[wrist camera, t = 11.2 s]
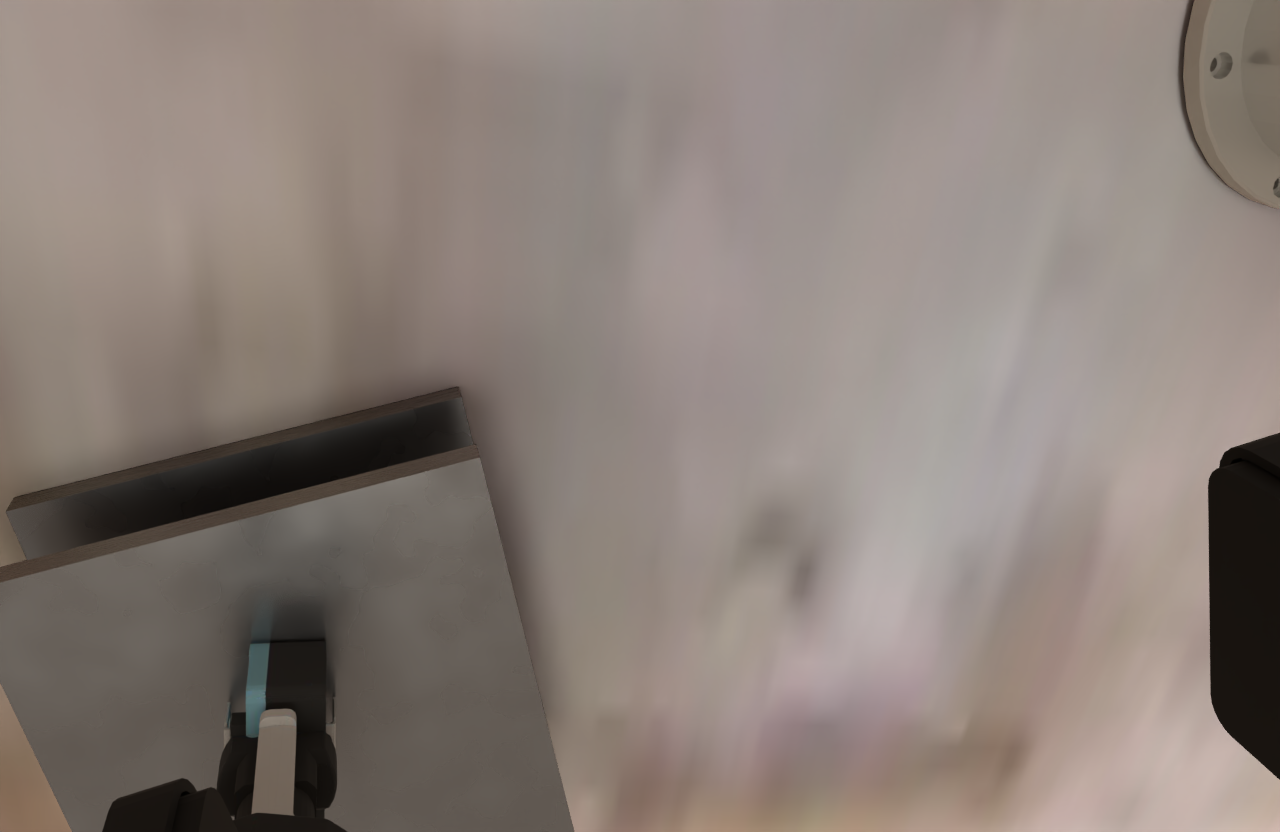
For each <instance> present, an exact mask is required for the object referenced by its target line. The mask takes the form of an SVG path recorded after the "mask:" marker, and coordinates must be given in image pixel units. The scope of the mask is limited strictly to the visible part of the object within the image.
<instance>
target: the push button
mask: <svg viewBox="0 0 1280 832" xmlns="http://www.w3.org/2000/svg"><path fill="white" fill-rule="evenodd" d="M326 655H327V642H326V641H314V642H288V643H261V644H250V648H249V668H248V676H247V685H246V712H236V713H232V714H231V703H230V702H227V708H226V716H225V723H224V750H223V752H222V755H221V759H220V764H219V772H218V779H217V788H216V790H217V791H218V792H219V793H220V795H221V797H222V799H223V800H224V803H225V805H226V807H227V809H228V811H229V813H230V815H231V816H232V817H234V820H233V822H234V824H235V826H236V828H237V830H238V832H347V831H346V830H344V829H343V828H341V827H340V826H338V825H337V824H335V823H333V822H332V821H330V820H328V819H325V809H327V808H329V807H330V806H331V804H332V802H333V800H334V797H335V794H336V790H337V755H336V750H335V737H336V697H333V715H332V722H331V723H326Z"/></svg>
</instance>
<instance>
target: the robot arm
mask: <svg viewBox="0 0 1280 832" xmlns="http://www.w3.org/2000/svg"><path fill="white" fill-rule="evenodd" d="M1183 81H1184V91H1185V100H1186V109H1187V113H1188V117H1189V120H1190V123H1191V127H1192V130H1193V133H1194V137H1195V140H1196V142H1197V144H1198V145H1199V147H1200V149H1201V151H1202V153H1203V155H1204V156H1205V158H1206V160H1207V162H1208V164H1209V165H1210V167H1211V168H1212V169H1213V170H1214V171H1215V172H1216V173H1217V174H1218V175H1219V176H1220V178H1221V179H1222V180H1223V181H1224V182H1225V183H1226V184H1227V185H1228V186H1229V187H1231V188H1232V189H1234V190H1235V191H1237V192H1238V193H1240V194H1241V195H1243V196H1245V197H1246V198H1248V199H1249V200H1252V201H1255V202H1258V203H1261V204H1264V205H1267V206H1270V207H1273V208H1277V209H1280V0H1195V1H1194V4H1193V8H1192V12H1191V17H1190V21H1189V26H1188V31H1187V35H1186V40H1185V53H1184V70H1183ZM1208 508H1209V592H1210V676H1211V700H1212V705H1213V708H1214V711H1215V713H1216V715H1217V717H1218V719H1219V721H1220V723H1221V724H1222V726H1223V727H1224V729H1225V730H1226V731H1227V732H1228V733H1229V734H1230V735H1231V736H1232V737H1233V738H1234V739H1235V740H1236V741H1237V742H1238V743H1239V744H1241V745H1242V746H1243V747H1244V748H1245V749H1246V750H1247V751H1248V752H1249V753H1251V754H1252V755H1253V756H1254V757H1255V758H1256V759H1257V760H1258V761H1259V762H1261V763H1262V764H1263V765H1264V766H1265V767H1266V768H1267V769H1268V770H1269V771H1271V772H1272V773H1273V774H1274V775H1275V776H1276V777H1277V778H1278V779H1280V433H1278V434H1274V435H1271V436H1268V437H1265V438H1262V439H1258V440H1255V441H1252V442H1249V443H1246V444H1243V445H1239V446H1236V447H1233V448H1231V449H1229V450H1228V451H1226V452H1225V453H1224V455H1223V457H1222V459H1221V461H1220V467H1219V468H1218V469H1216V470H1215V471H1213V472H1212V474H1211V476H1210V478H1209V485H1208ZM102 832H238V830H237V828H236V826H235V824H234V822H233V820H232V817H231V815H230V813H229V811H228V809H227V807H226V805H225V803H224V800H223V799H222V797H221V795H220V793H219V792H218V791H217V790H216V789H215V788H212V787H209V788H206V789H203V790H200V791H197V790H196V789H195V787H194V785H193V784H192V783H191V782H190V781H189V780H188V779H184V778H180V779H177V780H174V781H171V782H168V783H164V784H161V785H158V786H155V787H152V788H149V789H145V790H142V791H139V792H136V793H133V794H129V795H126V796H123V797H120V798H118V799H116V800H115V801H113V802H112V804H111V806H110V808H109V811H108V814H107V817H106V820H105V824H104V827H103V830H102Z"/></svg>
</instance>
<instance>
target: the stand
mask: <svg viewBox="0 0 1280 832" xmlns="http://www.w3.org/2000/svg"><path fill="white" fill-rule="evenodd" d="M6 513H7V516H8V518H9V520H10V522H11V525H12V527H13V529H14V531H15V534H16V536H17V538H18V540H19V543H20V545H21V547H22V549H23V552H24V554H25V556H26V558H27V560H26V561H22V562H18V563H14V564H10V565H7V566H3V567H0V683H1V685H2V687H3V689H4V691H5V693H6V695H7V698H8V700H9V702H10V704H11V706H12V708H13V710H14V712H15V714H16V716H17V718H18V720H19V722H20V725H21V727H22V729H23V731H24V733H25V735H26V737H27V739H28V741H29V743H30V745H31V747H32V749H33V751H34V754H35V756H36V758H37V760H38V762H39V764H40V766H41V768H42V770H43V772H44V774H45V776H46V778H47V781H48V783H49V785H50V787H51V789H52V791H53V793H54V795H55V797H56V799H57V801H58V803H59V805H60V807H61V810H62V812H63V814H64V816H65V818H66V820H67V822H68V824H69V826H70V828H71V830H72V832H102V830H103V827H104V824H105V820H106V817H107V814H108V811H109V808H110V806H111V804H112V802H113V801H115V800H116V799H118V798H120V797H123V796H126V795H129V794H133V793H136V792H139V791H142V790H145V789H149V788H152V787H155V786H158V785H161V784H164V783H168V782H171V781H174V780H177V779H180V778H184V779H188V780H189V781H190V782H191V783H192V784H193V785H194V787H195V789H196V790H197V791H200V790H203V789H206V788H209V787H212V788H215V789H216V788H217V779H218V772H219V764H220V759H221V755H222V752H223V750H224V723H225V716H226V708H227V702H230V703H231V714H232V713H236V712H246V685H247V676H248V668H249V648H250V644H261V643H288V642H314V641H326V642H327V655H326V723H331V722H332V715H333V697H336V737H335V750H336V755H337V790H336V794H335V797H334V800H333V802H332V804H331V806H330V807H329V808H327V809H325V819H328V820H330V821H332V822H333V823H335V824H337V825H338V826H340V827H341V828H343V829H344V830H346V831H347V832H574V828H573V824H572V820H571V817H570V813H569V809H568V805H567V801H566V797H565V793H564V789H563V785H562V781H561V777H560V773H559V769H558V765H557V761H556V757H555V753H554V749H553V745H552V741H551V737H550V733H549V729H548V725H547V721H546V717H545V713H544V709H543V705H542V702H541V698H540V694H539V690H538V686H537V682H536V678H535V674H534V670H533V666H532V662H531V658H530V654H529V650H528V646H527V642H526V638H525V634H524V630H523V626H522V622H521V618H520V614H519V610H518V606H517V602H516V598H515V594H514V590H513V587H512V583H511V579H510V575H509V571H508V567H507V563H506V559H505V555H504V551H503V547H502V543H501V539H500V535H499V531H498V527H497V523H496V519H495V515H494V511H493V507H492V503H491V499H490V495H489V491H488V487H487V483H486V479H485V476H484V472H483V468H482V464H481V460H480V456H479V453H478V449H477V446H476V444H474V445H473V441H472V437H471V433H470V429H469V425H468V421H467V417H466V413H465V409H464V405H463V401H462V397H461V394H460V391H459V387H455V388H451V389H447V390H443V391H439V392H435V393H431V394H427V395H423V396H419V397H415V398H411V399H407V400H403V401H399V402H395V403H391V404H387V405H383V406H379V407H375V408H371V409H367V410H363V411H359V412H355V413H351V414H347V415H343V416H339V417H335V418H331V419H327V420H323V421H319V422H315V423H311V424H307V425H303V426H299V427H295V428H291V429H287V430H283V431H279V432H275V433H271V434H267V435H263V436H259V437H255V438H251V439H247V440H243V441H239V442H235V443H231V444H227V445H223V446H219V447H215V448H211V449H207V450H203V451H199V452H195V453H191V454H187V455H183V456H179V457H175V458H171V459H167V460H163V461H159V462H155V463H151V464H147V465H143V466H139V467H135V468H131V469H127V470H123V471H119V472H115V473H111V474H107V475H103V476H99V477H95V478H91V479H87V480H83V481H79V482H75V483H71V484H67V485H63V486H59V487H55V488H51V489H47V490H43V491H39V492H35V493H31V494H27V495H23V496H19V497H15V498H13V500H12V502H11V504H10V505H9V507H8V509H7V510H6ZM231 817H232V816H231ZM232 820H234V817H232Z"/></svg>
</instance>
